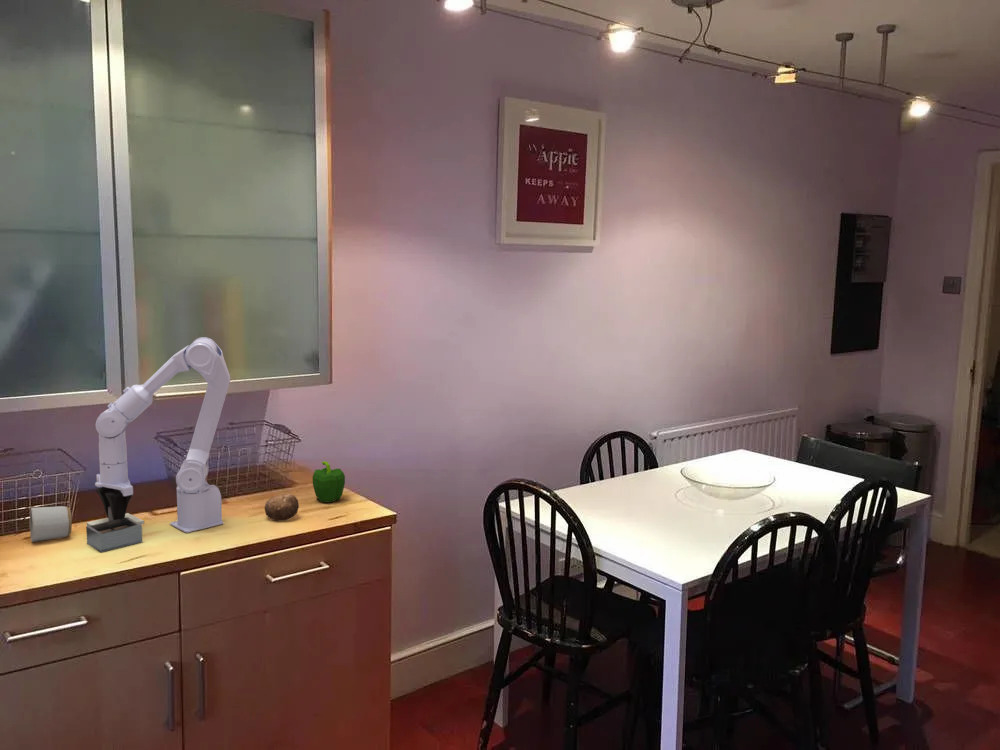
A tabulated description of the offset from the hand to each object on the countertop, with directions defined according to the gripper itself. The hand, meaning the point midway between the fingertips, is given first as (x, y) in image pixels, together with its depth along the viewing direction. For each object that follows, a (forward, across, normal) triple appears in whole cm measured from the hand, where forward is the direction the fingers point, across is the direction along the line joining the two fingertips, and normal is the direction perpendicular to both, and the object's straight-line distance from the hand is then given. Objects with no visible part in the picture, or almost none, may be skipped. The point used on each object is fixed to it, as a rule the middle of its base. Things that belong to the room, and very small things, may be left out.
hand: (115, 519), depth 191 cm
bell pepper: (+3, +14, +49) cm, 51 cm away
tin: (+2, +8, -4) cm, 10 cm away
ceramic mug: (+3, -5, -13) cm, 14 cm away
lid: (+1, 0, 0) cm, 1 cm away
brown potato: (+3, +18, +32) cm, 37 cm away
